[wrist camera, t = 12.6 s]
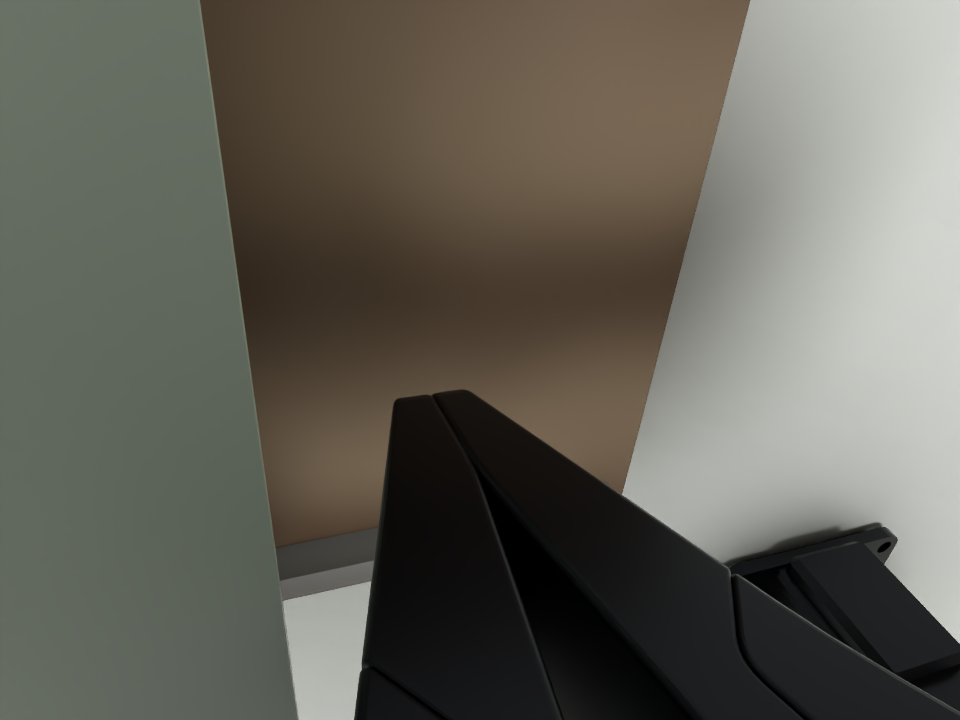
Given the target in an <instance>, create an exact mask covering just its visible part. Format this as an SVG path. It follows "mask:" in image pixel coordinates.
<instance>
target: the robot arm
mask: <svg viewBox="0 0 960 720" xmlns="http://www.w3.org/2000/svg"><path fill="white" fill-rule="evenodd" d="M897 541H898V540H897V537H896V536H895V535H894V534H893V533H892V532H891V531H890V530H889V529H888V528H886V527H881V528H877V529H873V530H869V531H865V532H861V533H858V534H854V535H850V536H846V537H842V538H838V539H834V540H830V541H826V542H822V543H818V544H814V545H810V546H806V547H803V548H799V549H795V550H791V551H787V552H783V553H779V554H775V555H771V556H767V557H763V558H759V559H755V560H752V561H748V562H744V563H740V564H737V565H734V566H732V567H730V568H728V567H726V566H725V565H723V564H722V563H721V562H719V561H718V560H716V559H715V558H713V557H712V556H710V555H709V554H707V553H706V552H704V551H703V550H702V549H700V548H699V547H697V546H696V545H694V544H693V543H691V542H690V541H688V540H687V539H685V538H684V537H683V536H681V535H680V534H678V533H677V532H675V531H674V530H672V529H671V528H669V527H668V526H666V525H665V524H664V523H662V522H661V521H659V520H658V519H656V518H655V517H653V516H652V515H650V514H649V513H648V512H646V511H645V510H643V509H642V508H640V507H639V506H637V505H636V504H634V503H633V502H631V501H630V500H629V499H627V498H626V497H624V496H623V495H621V494H620V493H618V492H617V491H615V490H614V489H612V488H611V487H610V486H608V485H607V484H605V483H604V482H602V481H601V480H599V479H598V478H596V477H595V476H593V475H592V474H591V473H589V472H588V471H586V470H585V469H583V468H582V467H580V466H579V465H577V464H576V463H574V462H573V461H572V460H570V459H569V458H567V457H566V456H564V455H563V454H561V453H560V452H558V451H557V450H556V449H554V448H553V447H551V446H550V445H548V444H547V443H545V442H544V441H542V440H541V439H539V438H538V437H537V436H535V435H534V434H532V433H531V432H529V431H528V430H526V429H525V428H523V427H522V426H520V425H519V424H518V423H516V422H515V421H513V420H512V419H510V418H509V417H507V416H506V415H504V414H503V413H501V412H500V411H499V410H497V409H496V408H494V407H493V406H491V405H490V404H488V403H487V402H485V401H484V400H482V399H481V398H480V397H478V396H477V395H475V394H474V393H472V392H470V391H468V390H466V389H459V390H452V391H445V392H438V393H434V394H432V395H431V396H430V395H428V394H424V395H417V396H410V397H403V398H398V399H396V400H395V402H394V404H393V410H392V418H391V426H390V434H389V442H388V451H387V459H386V467H385V475H384V483H383V492H382V500H381V508H380V516H379V524H378V533H377V541H376V549H375V557H374V565H373V574H372V582H371V590H370V598H369V606H368V615H367V623H366V631H365V639H364V647H363V656H362V671H361V672H360V676H359V684H358V692H357V700H356V709H355V717H354V720H960V644H959V643H958V642H957V641H956V640H955V639H954V638H953V637H952V636H951V635H950V633H949V632H948V631H947V630H946V629H945V628H944V627H943V626H942V625H941V624H940V623H939V622H938V621H937V620H936V619H935V618H934V617H933V616H932V615H931V614H930V612H929V611H928V610H927V609H926V608H925V607H924V606H923V605H922V604H921V603H920V602H919V601H918V600H917V599H916V598H915V597H914V596H913V595H912V594H911V593H910V591H909V590H908V589H907V588H906V587H905V586H904V585H903V584H902V583H901V582H900V581H899V580H898V579H897V578H896V577H895V576H894V575H893V574H892V573H891V572H890V570H889V569H888V568H887V567H886V566H885V565H884V564H885V562H886V560H887V559H888V557H889V555H890V554H891V552H892V550H893V549H894V547H895V545H896V543H897Z"/></svg>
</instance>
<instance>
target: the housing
mask: <svg viewBox="0 0 960 720" xmlns="http://www.w3.org/2000/svg"><path fill="white" fill-rule="evenodd" d="M0 720H299V719H298V711H297V704H296V696H295V689H294V682H293V674H292V667H291V660H290V652H289V645H288V638H287V630H286V623H285V615H284V608H283V601H282V593H281V586H280V579H279V571H278V564H277V557H276V549H275V542H274V535H273V527H272V520H271V513H270V505H269V499H268V492H267V485H266V477H265V470H264V463H263V456H262V448H261V441H260V434H259V427H258V419H257V412H256V405H255V398H254V390H253V383H252V376H251V368H250V361H249V354H248V347H247V339H246V332H245V325H244V318H243V310H242V303H241V296H240V289H239V281H238V274H237V267H236V259H235V252H234V245H233V238H232V230H231V223H230V216H229V209H228V201H227V194H226V187H225V180H224V172H223V165H222V158H221V150H220V143H219V136H218V129H217V121H216V114H215V107H214V100H213V92H212V85H211V78H210V71H209V63H208V56H207V49H206V41H205V34H204V27H203V20H202V12H201V5H200V0H0Z"/></svg>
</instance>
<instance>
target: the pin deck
mask: <svg viewBox="0 0 960 720" xmlns="http://www.w3.org/2000/svg"><path fill="white" fill-rule="evenodd" d="M749 3H750V0H200V5H201V12H202V20H203V27H204V34H205V41H206V49H207V56H208V63H209V71H210V78H211V85H212V92H213V100H214V107H215V114H216V121H217V129H218V136H219V143H220V150H221V158H222V165H223V172H224V180H225V187H226V194H227V201H228V209H229V216H230V223H231V230H232V238H233V245H234V252H235V259H236V267H237V274H238V281H239V289H240V296H241V303H242V310H243V318H244V325H245V332H246V339H247V347H248V354H249V361H250V368H251V376H252V383H253V390H254V398H255V405H256V412H257V419H258V427H259V434H260V441H261V448H262V456H263V463H264V470H265V477H266V485H267V492H268V499H269V505H270V513H271V520H272V527H273V535H274V542H275V549H276V557H277V564H278V571H279V579H280V586H281V593H282V601H283V600H288V599H292V598H297V597H301V596H306V595H310V594H315V593H319V592H324V591H328V590H333V589H337V588H342V587H346V586H351V585H355V584H360V583H364V582H369V581H372V574H373V565H374V557H375V549H376V541H377V533H378V524H379V516H380V508H381V500H382V492H383V483H384V475H385V467H386V459H387V451H388V442H389V434H390V426H391V418H392V410H393V404H394V402H395V400H396V399H398V398H403V397H410V396H417V395H424V394H428V395H430V396H431V395H432V394H434V393H438V392H445V391H452V390H459V389H466V390H468V391H470V392H472V393H474V394H475V395H477V396H478V397H480V398H481V399H482V400H484V401H485V402H487V403H488V404H490V405H491V406H493V407H494V408H496V409H497V410H499V411H500V412H501V413H503V414H504V415H506V416H507V417H509V418H510V419H512V420H513V421H515V422H516V423H518V424H519V425H520V426H522V427H523V428H525V429H526V430H528V431H529V432H531V433H532V434H534V435H535V436H537V437H538V438H539V439H541V440H542V441H544V442H545V443H547V444H548V445H550V446H551V447H553V448H554V449H556V450H557V451H558V452H560V453H561V454H563V455H564V456H566V457H567V458H569V459H570V460H572V461H573V462H574V463H576V464H577V465H579V466H580V467H582V468H583V469H585V470H586V471H588V472H589V473H591V474H592V475H593V476H595V477H596V478H598V479H599V480H601V481H602V482H604V483H605V484H607V485H608V486H610V487H611V488H612V489H614V490H615V491H617V492H618V493H620V494H621V495H622V492H623V488H624V485H625V481H626V477H627V473H628V469H629V465H630V461H631V458H632V454H633V450H634V446H635V442H636V438H637V435H638V431H639V427H640V423H641V419H642V415H643V411H644V408H645V404H646V400H647V396H648V392H649V388H650V384H651V381H652V377H653V373H654V369H655V365H656V361H657V357H658V354H659V350H660V346H661V342H662V338H663V334H664V330H665V327H666V323H667V319H668V315H669V311H670V307H671V304H672V300H673V296H674V292H675V288H676V284H677V280H678V277H679V273H680V269H681V265H682V261H683V257H684V253H685V250H686V246H687V242H688V238H689V234H690V230H691V226H692V223H693V219H694V215H695V211H696V207H697V203H698V199H699V196H700V192H701V188H702V184H703V180H704V176H705V173H706V169H707V165H708V161H709V157H710V153H711V149H712V146H713V142H714V138H715V134H716V130H717V126H718V122H719V119H720V115H721V111H722V107H723V103H724V99H725V95H726V92H727V88H728V84H729V80H730V76H731V72H732V68H733V65H734V61H735V57H736V53H737V49H738V45H739V42H740V38H741V34H742V30H743V26H744V22H745V18H746V15H747V11H748V7H749Z"/></svg>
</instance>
